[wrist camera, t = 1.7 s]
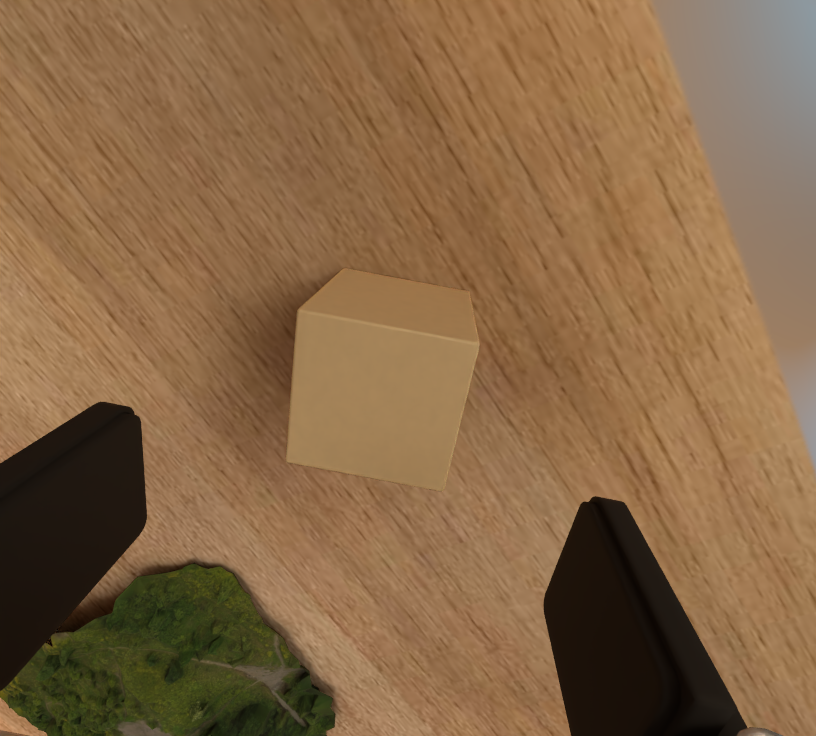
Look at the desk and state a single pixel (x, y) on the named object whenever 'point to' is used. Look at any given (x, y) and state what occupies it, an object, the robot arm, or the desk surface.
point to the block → (381, 378)
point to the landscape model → (172, 668)
